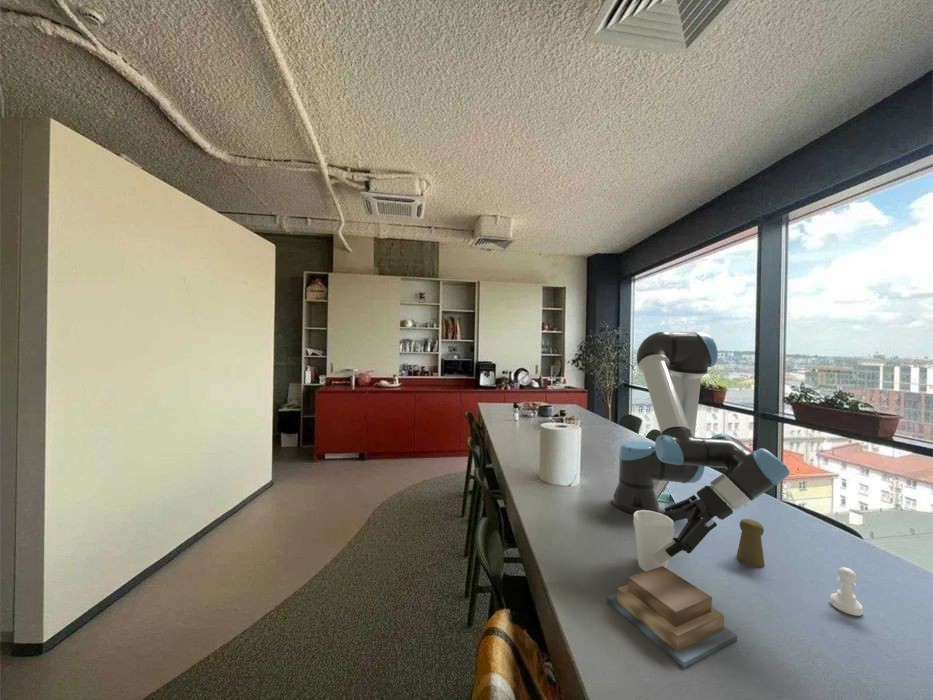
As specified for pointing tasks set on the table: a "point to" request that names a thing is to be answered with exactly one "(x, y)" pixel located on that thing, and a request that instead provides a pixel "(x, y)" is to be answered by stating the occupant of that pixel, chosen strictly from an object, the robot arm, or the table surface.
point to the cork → (751, 543)
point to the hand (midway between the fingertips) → (651, 544)
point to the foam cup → (651, 536)
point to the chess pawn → (846, 594)
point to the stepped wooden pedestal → (673, 615)
